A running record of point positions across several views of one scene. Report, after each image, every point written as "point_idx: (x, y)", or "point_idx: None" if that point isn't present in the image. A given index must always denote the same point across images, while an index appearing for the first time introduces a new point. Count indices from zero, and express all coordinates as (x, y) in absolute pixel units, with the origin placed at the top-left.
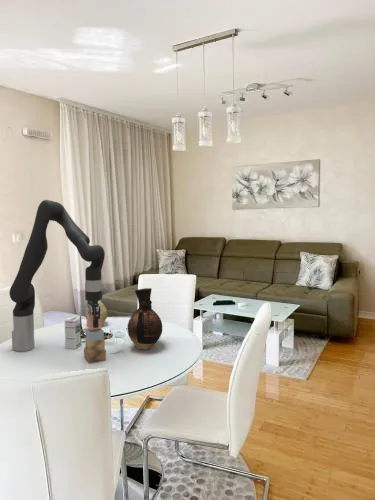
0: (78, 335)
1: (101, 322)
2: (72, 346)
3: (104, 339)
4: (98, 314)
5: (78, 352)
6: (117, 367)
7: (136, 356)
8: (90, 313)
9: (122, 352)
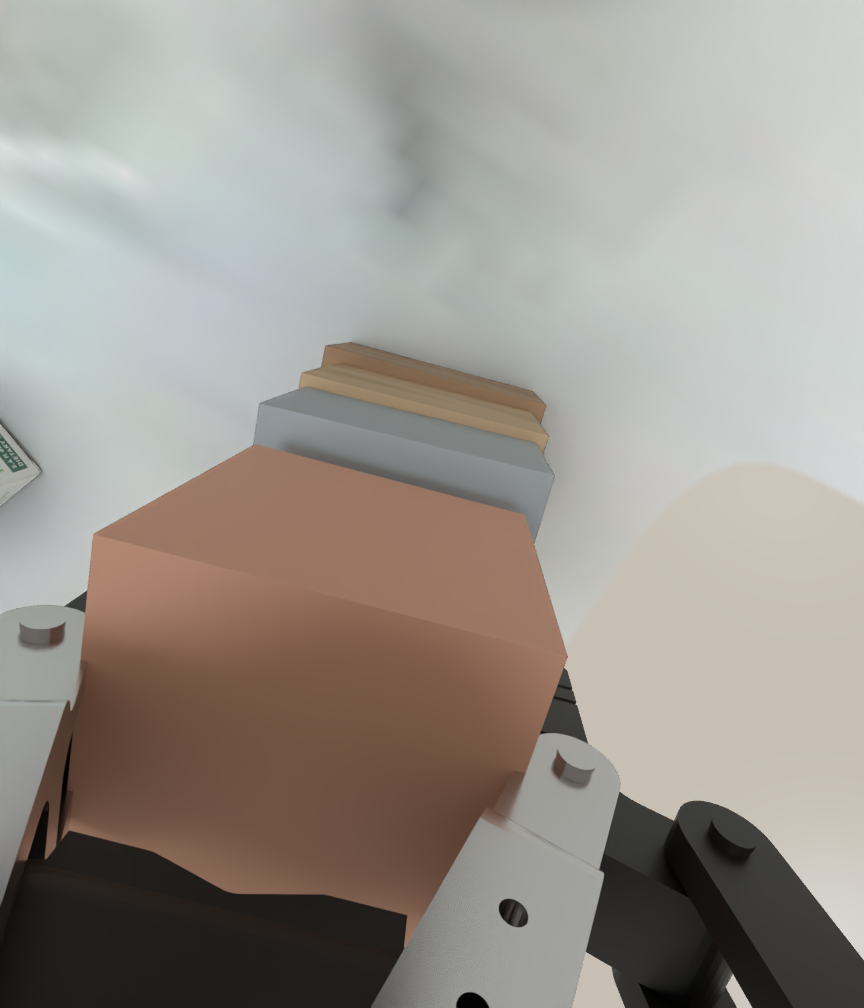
0: None
1: (536, 571)
2: (2, 500)
3: (545, 435)
4: (756, 987)
5: (152, 494)
6: (775, 395)
7: (694, 20)
8: (63, 836)
9: (456, 94)
